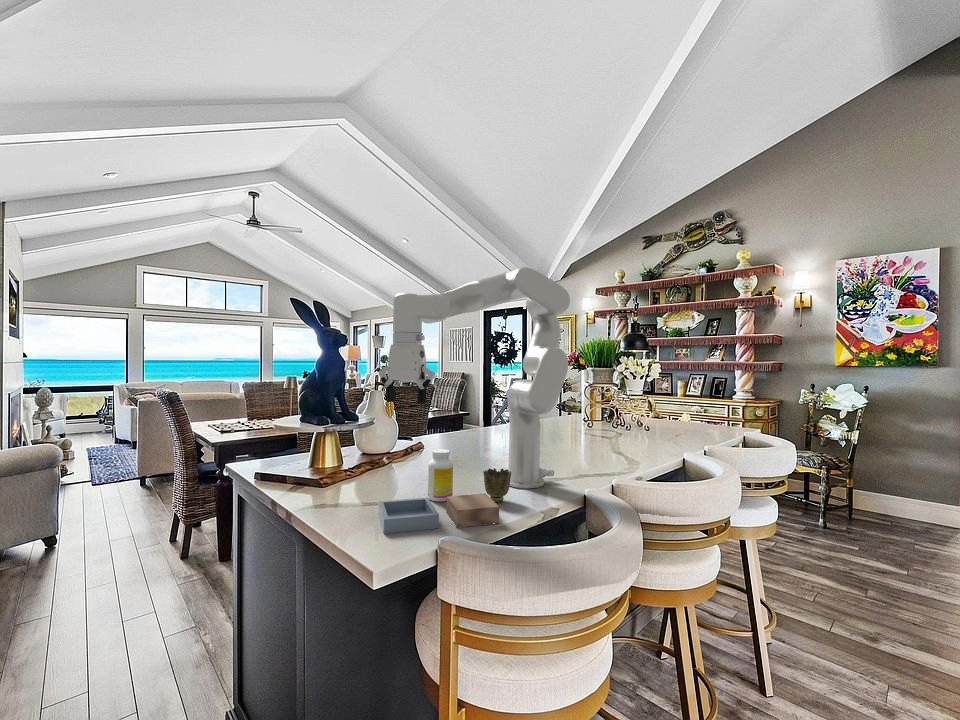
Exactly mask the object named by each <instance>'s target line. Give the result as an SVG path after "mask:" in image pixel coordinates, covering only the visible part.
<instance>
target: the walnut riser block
mask: <svg viewBox="0 0 960 720" xmlns="http://www.w3.org/2000/svg"><path fill="white" fill-rule="evenodd" d="M445 505H446V507H445V508H446V509H445V511H446V514H448V515H449V516H448V515H447V516H448V517H449V519H450V518H451V519H450V520H451V522H452V521H453V522H454V523H453V522H452V523H453V524H455V525H456V526H455V525H454V526H455V527H456V528H457V527H464V528H467V527H466V526H474V527H477V526H476V525H484V526H486V525H485V524H493V523H499V524H500V506H499V505H498V503H495V502H494V501H493V500H492V499H491V498H490V495H489V496H488V494H487V493H475V494H462V495H461V494H460V495H453V496H447V501H446V504H445ZM493 525H494V524H493Z"/></svg>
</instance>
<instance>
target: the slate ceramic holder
mask: <svg viewBox="0 0 960 720" xmlns="http://www.w3.org/2000/svg"><path fill="white" fill-rule="evenodd" d="M431 501H432V500H430V499H429V498H428V497H418V498H409V499H395V500H394V499H393V500H392V499H391V500H382V501H378V518H379V522H380V526H381V529H382V533H383V535H386V534H395V533H397V534H398V533H404V532H405V533H406V531H407V532H414V531H415V532H416V531H425V529H427V530H435V529H434V528H437V529H440V528H439V523H440V522H439V521H440V519H439V518H440V517H439V516H440V514H439V512H438V510H437V509H436V507H435V506H434V505H433V503H432V502H431Z"/></svg>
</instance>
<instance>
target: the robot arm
mask: <svg viewBox="0 0 960 720" xmlns="http://www.w3.org/2000/svg"><path fill="white" fill-rule="evenodd" d="M522 298H526V300H525V306H526V309H527V312H528V313H529V316H530V317H531V320H532V322H533V331H532V335H531V339H530V341H529V344H528V347H527V350H526V352H525V355H524V357H523V359H522V360H523V361H522V369H523V371H524V372H525V374H527V375H528V376H530V377H533V379H518V380H516V381H514V382H513V383H512V384H511V385H510V386H509V389H508V391H507V397H506V398H507V406H508V417H509V430H508V467H507V469H508V471H509V472H510V471H511V479H510V486H509V487H512V488H517V489H518V488H519V489H536V488H540V487H543V486H544V485H545V477H554V476H555V471H554V469H546V468H541V466H540V465H541V433H542V432H541V431H542V429H541V428H542V427H541V426H542V425H541V418H540V415H547V414H549V413H550V412H551V411H552V410H554V408H555V406H556V404H557V402H558V400H559V398H560V395H561V391H562V388H563V387H564V383H565V380H566V377H567V374H568V370H569V358H568V356H567V354H566V353H565V351H564V350H563V349H561V348H560V347H558V346H559V343H560V338H561V333H562V332H561V324H560V321H559V319H558V315H562V314H564V313H565V312H566V311H567V310H568V309H569V307H570V304H571V296H570V294H569V291H567V289H566V288H565V287H564V286H562V285H561V284H560V283H557V282H556V281H554V280H553V279H551V278H549V277H548V276H546V275H545V274H543V273H541V272H539V271H538V270H536V269H533V268H531V267H528V266H522V267H519V268H516V269H513V270H510V271H506V272H502V273H499V274H496V275H493V276H490V277H486V278H481V279H478V280H477V279H476V280H474V281H471V282H468V283H466V284H464V285H462V286H459V287H458V288H455V289H452V290H448V291H445V292H442V293H436V294H435V293H432V294H417V293H412V292H410V293H409V292H408V293H406V292H405V293H404V292H403V293H402V292H400V293H397V294H395V295H394V297H393V304H392V306H393V308H392V310H393V311H392V313H393V315H392V317H393V319H392V321H393V322H392V344H390V348H389V351H388V352H389V353H388V359H387V366H384V367H383V368H382V369H380V370H379V371H378V375H379V377H380V381H381V382H382V384H383V385H384V386H383V387H384V388H385V389H386V390H385V392H386V393H385V398H386V403H392V402H395V401H396V387H395V386H394V385H396V383H397V382H407V383H409V382H411V383H414V382H415V384H416V385H417V386H418V389H417V391H416V392H417V394H416V395H417V396H416V398H417V399H416V401H417V405H423V404H426V401H427V389H429V386H431V384H433V380H434V379H435V377H436V373H435V371H433V370H432V369H430V368H429V367H427V357H426V351H425V345H424V344H422V341H425V337H426V336H425V335H424V334H423V335H422V323H424V324H435V323H440V322H442V321H445V320H447V319H448V318H451V317H455V316H458V315H463V314H466V313H467V314H469V313H475V312H479V311H483V310H487V309H489V308H492V307H493V308H494V307H496V306H498V305H499V306H500V305H502V304H506V303H508V302H511V301H515V300H519V299H522Z"/></svg>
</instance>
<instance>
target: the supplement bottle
mask: <svg viewBox="0 0 960 720" xmlns="http://www.w3.org/2000/svg"><path fill="white" fill-rule="evenodd" d="M431 455H432V459H431V460H429V462H428V467H427V469H428V473H427V475H428V476H427V478H428V479H427V498H429V500H430V501H433V502H435V503H436V502H437V503H438V502H439V503H441V502H447V496H454V495H453V492H454V491H453V490H454V489H453V488H454V487H453V486H454V485H453V483H454V481H453V480H454V479H453V478H454V462H453V461H452V460H451V459H450V458H449V457H450V455H451V453H450V450H449V449H444V448H438V449H433V450H431Z"/></svg>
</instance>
